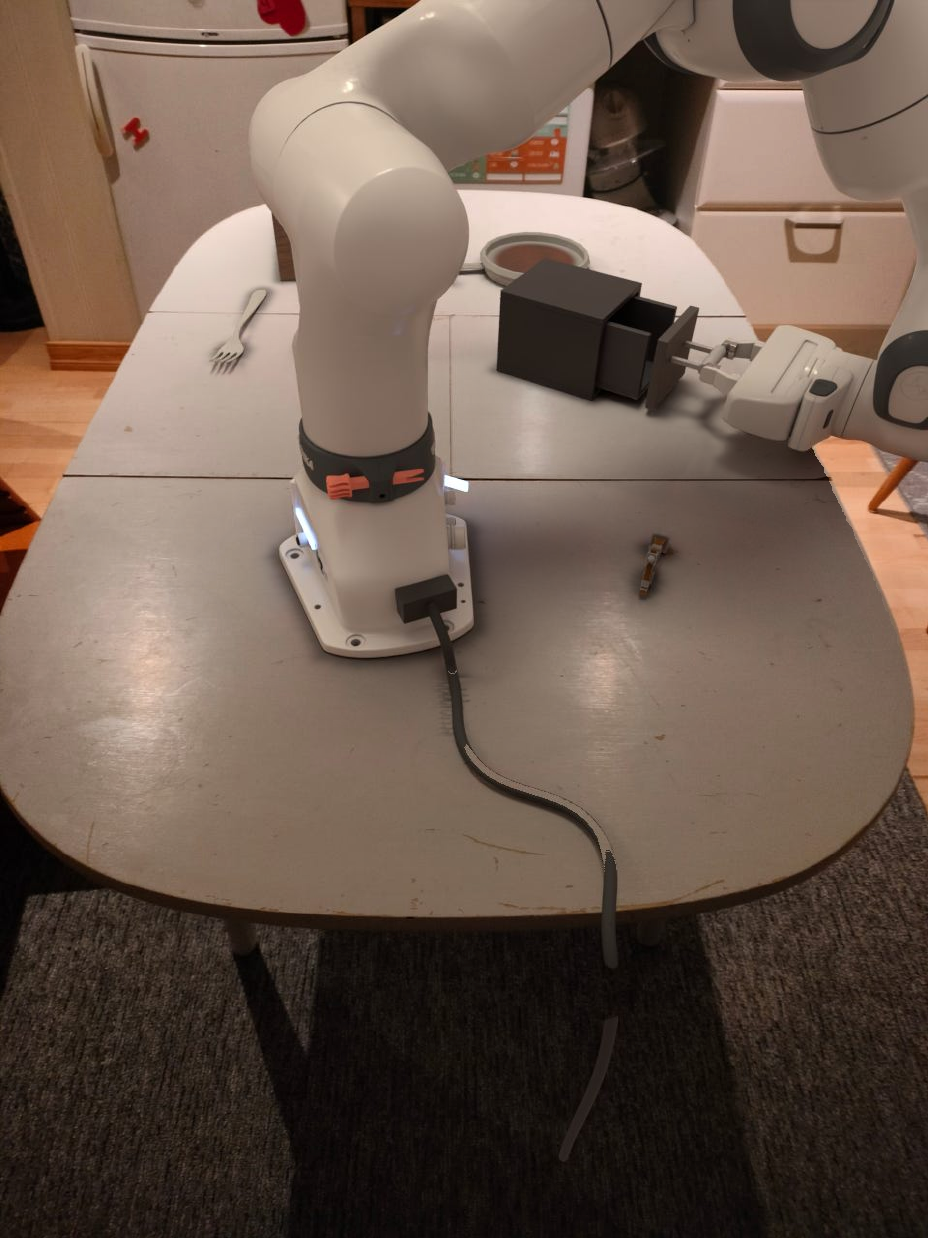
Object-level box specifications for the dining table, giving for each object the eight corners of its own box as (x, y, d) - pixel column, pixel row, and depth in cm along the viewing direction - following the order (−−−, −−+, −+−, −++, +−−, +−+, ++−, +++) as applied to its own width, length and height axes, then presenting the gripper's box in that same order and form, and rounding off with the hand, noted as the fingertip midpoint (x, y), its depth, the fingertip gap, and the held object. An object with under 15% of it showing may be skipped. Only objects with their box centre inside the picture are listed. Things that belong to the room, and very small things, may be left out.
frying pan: (403, 236, 133) (576, 226, 136) (404, 255, 136) (575, 245, 138) (413, 283, 122) (603, 271, 124) (414, 302, 124) (601, 290, 126)
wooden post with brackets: (631, 594, 79) (643, 549, 77) (642, 571, 86) (653, 529, 84) (650, 599, 79) (662, 554, 77) (659, 576, 86) (671, 533, 84)
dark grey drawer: (722, 384, 106) (740, 318, 100) (693, 423, 100) (710, 354, 94) (595, 347, 112) (604, 282, 106) (560, 381, 106) (568, 314, 100)
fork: (273, 290, 124) (271, 278, 123) (233, 374, 107) (230, 361, 106) (251, 289, 124) (249, 277, 123) (208, 373, 108) (205, 360, 106)
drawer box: (628, 361, 112) (642, 282, 104) (591, 400, 105) (603, 319, 97) (537, 334, 116) (544, 257, 109) (496, 370, 109) (500, 290, 102)
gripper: (861, 328, 99) (746, 299, 103) (816, 408, 86) (687, 370, 91) (843, 377, 103) (733, 347, 108) (797, 459, 91) (675, 421, 95)
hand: (711, 358), depth 99 cm, fingers closed on dark grey drawer, 5 cm apart
